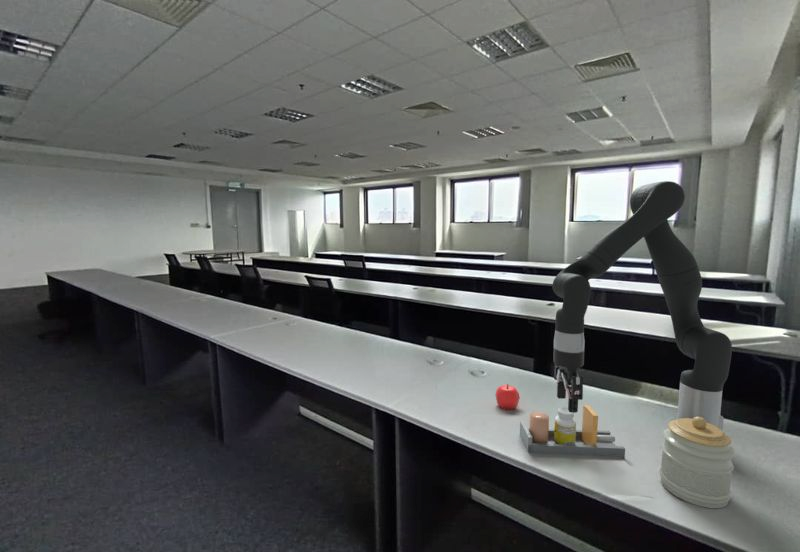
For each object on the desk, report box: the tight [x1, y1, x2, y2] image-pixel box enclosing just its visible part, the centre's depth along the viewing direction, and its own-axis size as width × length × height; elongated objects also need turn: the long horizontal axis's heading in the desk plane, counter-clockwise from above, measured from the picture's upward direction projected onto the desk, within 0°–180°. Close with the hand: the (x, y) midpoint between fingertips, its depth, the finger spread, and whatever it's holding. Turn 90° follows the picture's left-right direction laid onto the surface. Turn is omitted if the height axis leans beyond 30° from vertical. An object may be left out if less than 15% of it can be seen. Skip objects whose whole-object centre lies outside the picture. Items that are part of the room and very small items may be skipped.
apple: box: [495, 383, 520, 411], centre depth 129 cm, size 8×8×8 cm
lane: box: [519, 420, 626, 460], centre depth 105 cm, size 25×9×5 cm, turn 86°
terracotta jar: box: [528, 411, 550, 444], centre depth 105 cm, size 5×5×8 cm
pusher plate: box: [581, 404, 616, 446], centre depth 104 cm, size 7×6×10 cm
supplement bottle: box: [553, 407, 577, 445], centre depth 104 cm, size 5×5×10 cm
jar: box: [659, 417, 736, 509], centre depth 87 cm, size 13×13×18 cm
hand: (566, 404), depth 104 cm, fingers open, 8 cm apart
